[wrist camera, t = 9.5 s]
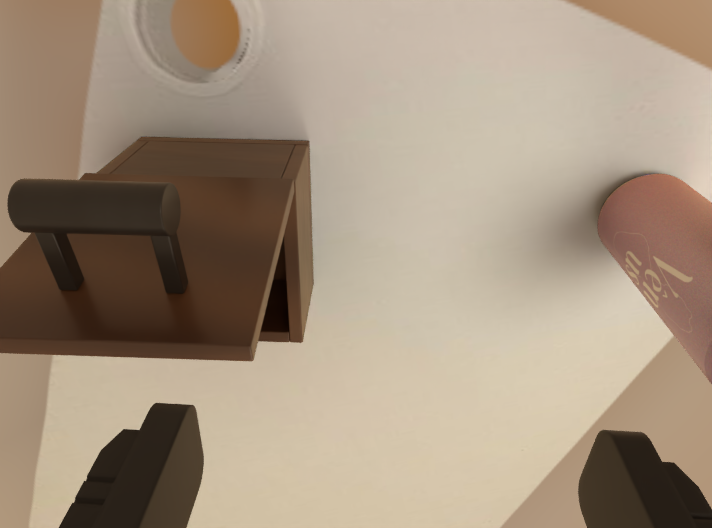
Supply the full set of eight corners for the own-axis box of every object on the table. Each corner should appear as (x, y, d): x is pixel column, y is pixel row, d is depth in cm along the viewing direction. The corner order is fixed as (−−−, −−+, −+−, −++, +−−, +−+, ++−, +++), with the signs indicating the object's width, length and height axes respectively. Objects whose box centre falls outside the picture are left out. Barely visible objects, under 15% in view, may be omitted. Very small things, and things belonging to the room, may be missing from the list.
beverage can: (672, 253, 36) (835, 420, 23) (584, 251, 37) (698, 415, 24) (702, 170, 33) (908, 310, 20) (606, 168, 33) (752, 305, 21)
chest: (313, 283, 39) (302, 343, 33) (168, 279, 39) (132, 337, 33) (309, 140, 33) (295, 181, 27) (140, 136, 33) (91, 176, 28)
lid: (253, 362, 18) (233, 238, 15) (-51, 352, 18) (-135, 228, 15) (294, 191, 27) (287, 91, 24) (89, 186, 27) (55, 86, 24)
